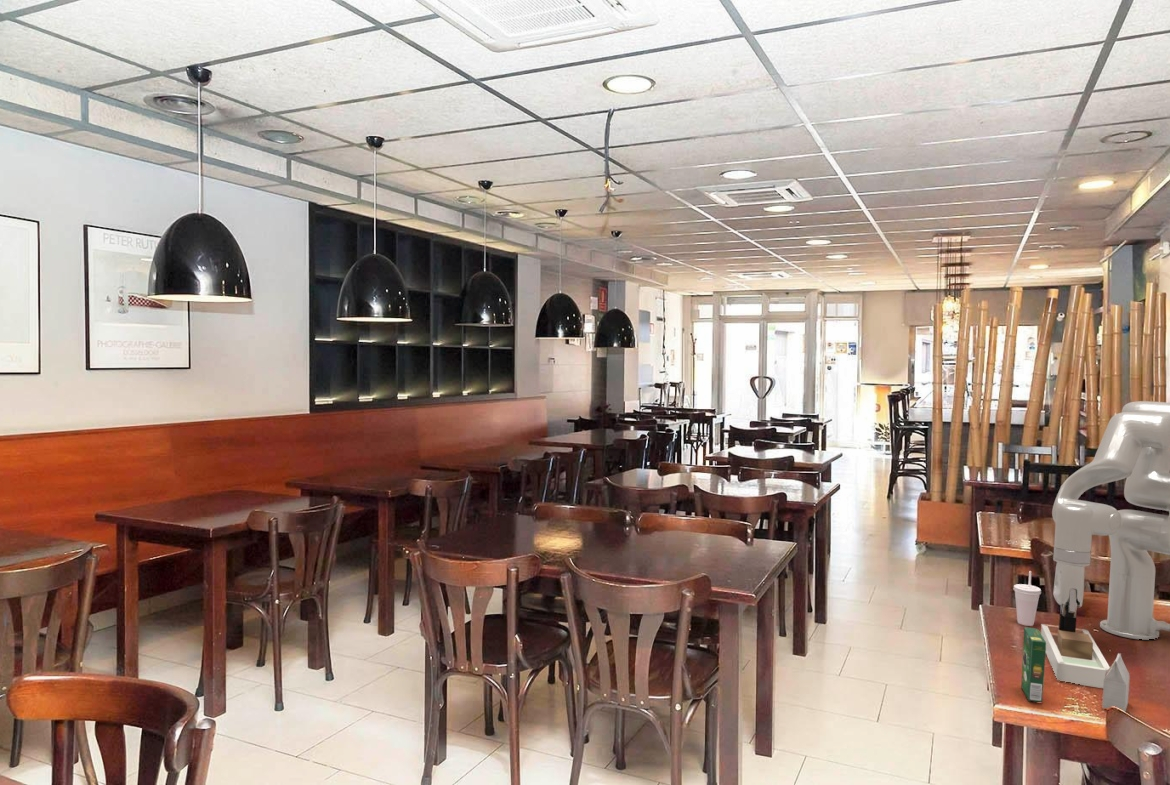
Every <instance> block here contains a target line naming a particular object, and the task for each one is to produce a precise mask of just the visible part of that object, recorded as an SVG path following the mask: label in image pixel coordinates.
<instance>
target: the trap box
mask: <svg viewBox="0 0 1170 785" xmlns="http://www.w3.org/2000/svg"><path fill="white" fill-rule="evenodd" d="M1058 630H1059V625H1054V624H1053V625H1052V624H1047V623H1041V624H1040V633H1041V635H1042V636H1043V638H1044V640H1045V641H1046V653H1045V655H1046V656H1047V659H1048V661H1049V664H1050V667H1051V666H1052V667H1051V669H1052V668H1053V669H1052V671H1054V672H1053V674H1054V673H1055V674H1054V676H1056V677H1055V679H1056V678H1057V679H1056V681H1057V680H1060V681H1065V682H1064V683H1066V682H1071V683H1070V684H1072V683H1075V684H1074V685H1078V684H1080V685H1079V686H1085V687H1093V688H1099V689H1103V686H1104V679H1105V676H1106V674H1107V671H1108V669H1109V668H1110V667H1111V666H1110V665H1109V663H1108V662H1107V660H1106V658H1105V656H1104V655H1103V653H1102V651H1101V650H1100V648H1099V646H1098V645H1097V643H1096V642H1095V639H1094V638H1093V637H1092V635H1091V633H1090V631H1089V630H1088V629H1084V628H1083V629H1082V628H1077V627H1076V631H1075V632H1076V633H1083V634H1088V635H1089V637H1090V638H1091V640H1092V642H1093V652H1092V660H1087V659H1081V658H1074V657H1067V656H1061V654H1060V652H1059V650H1058V648H1057V640H1058ZM1060 681H1059V682H1060Z"/></svg>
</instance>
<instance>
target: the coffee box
mask: <svg viewBox="0 0 1170 785" xmlns="http://www.w3.org/2000/svg"><path fill="white" fill-rule="evenodd" d="M1045 662H1046V641H1045V640H1044V638H1043V636H1042V635H1041V630H1039V628H1034V627H1028V626H1025V627H1024V628H1023V646H1022V663H1021V664H1022V666H1021V684H1020V686H1021V688H1022V691H1023V693H1024V695H1025V698H1026V697H1027V698H1026V699H1028V700H1027V702H1029V701H1034V702H1033V703H1035V702H1042V703H1043V695H1044V694H1043V693H1044V680H1045V678H1044V677H1045V666H1046V663H1045Z"/></svg>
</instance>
